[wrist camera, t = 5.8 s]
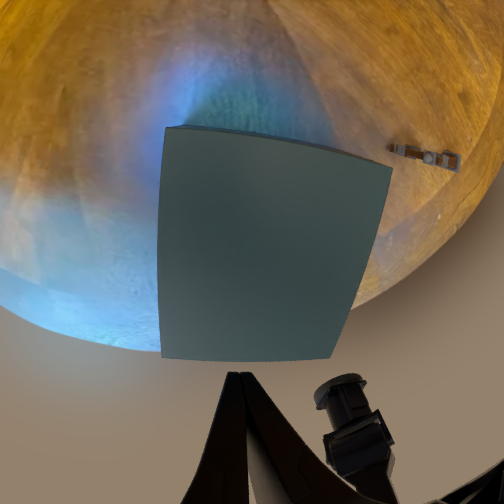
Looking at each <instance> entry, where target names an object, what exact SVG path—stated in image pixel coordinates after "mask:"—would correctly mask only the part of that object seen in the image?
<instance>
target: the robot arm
mask: <svg viewBox="0 0 504 504" xmlns="http://www.w3.org/2000/svg"><path fill="white" fill-rule="evenodd" d="M366 384H367V382H366V380H363V381H357V382H351V383H345V384H338V385H332V386H330V387H329V388H328V390H327V391H326V393H325V394H324V396H323V397H322V399H321V400H320V402H319V404H318V405H317V407H316V409H317V410H323V409H326V411H327V414H328V417H329V419H330V422H331V425H332V428H333V430H334V432H331V433H329V434H325V435H324V436H323V437H324V439H323V443H324V446H325V451H326V462H327V464H328V465H331V467H332V468H333V470H334V471H336V472H337V474H338V475H339V476H340V477H342V478H343V479H344V480H346V481H347V482H349V483H350V484H352V485H353V486H354V487H355V488H356V490H357V492H356V491H355V490H353V489H352V488H351V487H349V486H348V485H347V484H346V483H345V482H344V481H342V480H341V479H340V478H339V477H338V476H336V475H335V474H334V473H333V472H332V471H331V470H330V469H329V468H328V467H327V466H325V465H324V464H323V463H322V462H321V461H320V460H319V458H318V457H317V456H316V455H315V454H314V453H313V452H312V450H311V449H310V448H309V447H308V446H307V445H305V442H304V441H303V440H302V438H301V437H300V436H299V435H298V433H297V432H296V431H295V430H294V428H293V427H292V426H291V425H290V423H289V422H288V421H287V419H286V418H285V417H284V416H283V414H282V413H281V412H280V410H279V409H278V408H277V407H276V405H275V404H274V402H273V401H272V400H271V398H270V397H269V396H268V395H267V393H266V392H265V390H264V389H263V387H262V386H261V385H260V383H259V382H258V381H257V379H256V378H255V376H254V375H253V374H252V373H251V372H240V373H239V372H228V373H227V376H226V379H225V383H224V386H223V389H222V392H221V396H220V399H219V402H218V405H217V409H216V412H215V415H214V418H213V422H212V425H211V428H210V432H209V435H208V438H207V441H206V445H205V448H204V452H203V454H202V457H201V460H200V463H199V466H198V468H197V472H196V474H195V476H194V478H193V480H192V482H191V485H190V487H189V488H188V491H187V492H186V494H185V496H184V498H183V500H182V502H181V503H180V504H249V485H248V471H249V475H250V479H251V483H252V487H253V491H254V495H255V499H256V503H257V504H400V503H399V500H398V498H397V495H396V492H395V490H394V487H393V484H392V482H391V479H390V477H391V473H392V470H393V466H394V462H395V457H394V455H393V452H392V450H391V448H390V446H392V445H394V444H395V443H394V441H393V439H392V436H391V434H390V432H389V430H388V428H387V426H386V424H385V422H384V420H383V418H382V415H381V414H380V411H379V409H377V410H375V411H374V412H373V413H372V411H371V409H370V407H369V405H368V404H369V403H368V400H367V398H366V396H365V394H364V392H363V390H362V389H363V388H364V387H365V385H366ZM379 422H381V423H380V424H379ZM425 504H504V458H503V459H502V460H501V461H499V462H498V463H496V464H495V465H494V466H492V467H491V468H489V469H488V470H486V471H485V472H483V473H482V474H480V475H479V476H477V477H476V478H474V479H472V480H471V481H469V482H467V483H466V484H464V485H462V486H461V487H459V488H457V489H455V490H453V491H452V492H450V493H448V494H447V495H445V496H443V497H442V498H440V499H439V500H437V499H436V500H432V501H430V502H427V503H425Z"/></svg>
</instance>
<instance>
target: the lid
mask: <svg viewBox="0 0 504 504" xmlns="http://www.w3.org/2000/svg"><path fill="white" fill-rule="evenodd" d="M392 170H393V168H391V167H388V166H385V165H382V164H378V163H375V162H372V161H368V160H365V159H361V158H358V157H354V156H350V155H346V154H342V153H338V152H334V151H330V150H326V149H322V148H317V147H313V146H308V145H303V144H299V143H293V142H288V141H283V140H277V139H272V138H265V137H259V136H253V135H246V134H238V133H230V132H222V131H212V130H202V129H190V128H174V127H166V128H165V136H164V145H163V154H162V165H161V177H160V191H159V209H158V239H157V280H158V310H159V328H160V342H161V354H162V358H170V359H184V360H200V361H225V362H226V361H227V362H228V361H229V362H271V361H296V360H312V359H326V358H330V357H331V354H332V352H333V350H334V348H335V345H336V343H337V341H338V339H339V336H340V334H341V332H342V329H343V327H344V324H345V322H346V319H347V317H348V315H349V312H350V309H351V307H352V304H353V302H354V299H355V296H356V294H357V291H358V288H359V285H360V283H361V280H362V277H363V274H364V271H365V268H366V265H367V262H368V259H369V256H370V253H371V250H372V247H373V243H374V240H375V237H376V233H377V230H378V226H379V223H380V219H381V216H382V212H383V208H384V204H385V200H386V196H387V192H388V188H389V184H390V179H391V175H392Z"/></svg>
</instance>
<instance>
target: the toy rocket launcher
mask: <svg viewBox="0 0 504 504" xmlns="http://www.w3.org/2000/svg"><path fill="white" fill-rule="evenodd" d="M390 152H394V153H397V154H399V155H403V156H405V157H409V158H412V159H416V158H418V159H422V160H423V163H426V164H430V165H433V166H434V165H436V166H441V167H442V168H445V169H448V170H451V171H454V172H457V173H459V168H460V161H461V155H460V154H457V153H453V152H450V151H447V150H445V151H444V155H442V154H438V153H435V152H434V153H433V152H430V151H426V150H424V152H421V149H420V148H417V147H414V146H410V145H406V147H405V146H400V145H393V144H391V146H390Z"/></svg>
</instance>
